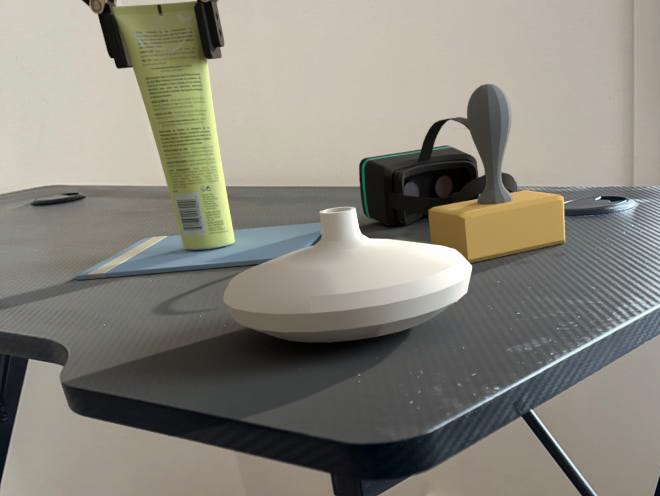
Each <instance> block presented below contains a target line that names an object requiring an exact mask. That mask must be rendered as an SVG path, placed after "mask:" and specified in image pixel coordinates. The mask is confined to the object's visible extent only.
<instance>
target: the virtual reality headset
mask: <svg viewBox="0 0 660 496" xmlns="http://www.w3.org/2000/svg"><path fill="white" fill-rule="evenodd" d="M448 121H454V122H457V123H459V124H461V125H463V126H465V128H466V129H467V130H469V126H468V121H467V117H462V116H456V117H451V118H450V117H449V118H444V119H440V120H437V121H435V122H434V123H433V124H432V125H431V126H430V127H429V129H428V130H427V133H426V134H425V136H424V139H423V142H422V145H421V147H420V149H413V150H408V151H407V150H406V151H402V152H395V153H388V154H382V155H376V156H368V157H364V158H362V159H361V160H360V162H359V165H358V176H359V178H358V179H359V190H360V191H359V192H360V200H361V206H362V212H363V214H364V216H366V218H369V219H370V220H374V221H377V222H379V223H381V224H384V225H386V226H387V227H390V226H394V225H396V224H399V223H401V224H402V225H403V226H405V225H406V226H407V225H410V224H412V223H413V222H416V221H418V220H419V219H421V218H423V217H425V216H426V217H427V216H429V209H431V208H433V207H437V206H443V205H448V204H454V203H459V202H464V201H470V200H475V199H478V198H479V197H480V195H481V194H482V192H483V191H484V189H485V186H486V174H485V173H484V174H483V175H481V176H479V169H478V161H477V159H476V157H475V156H473V155H472V154H469V153H467V152H465V151H462V150H460V149H459V148H455V147H453V146H452V145H448V144H447V145H439V146H435V144H436V143H435V142H436V140H437V137H438V135H439V133H440V132H441V129H442V128H443V126H444V125H446V123H447V122H448ZM483 170H484V171H483V172H485V169H483ZM501 178H502V183H503V185H504V187H505V188H506V189H507V190H508V191H509V193H513V192H518V183H517V181H516V179H515V178H514V177H513V176H512V174H510V173H507V172H503V171H501Z"/></svg>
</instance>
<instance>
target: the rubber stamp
mask: <svg viewBox="0 0 660 496" xmlns="http://www.w3.org/2000/svg"><path fill="white" fill-rule="evenodd" d="M466 118H467V121H468V126H469V129H468V131H469V133H470V136H471V139H472V141H473V143H474V146H475V148H476V151H477V152H478V155H479V157H480V160H481V163H482V167H483V170H485V171H484V175H485V174H486V186H485V189H484V191H483V192H482V194H479V198H478V199H475V200H470V201H464V202H459V203H454V204H448V205H443V206H437V207H433V208H431V209H429V215H428V222H429V232H430V241H431V243H430V244H432V245H440V246H445V247H448V248H452V249H455V250H457V251H458V252H459V253H460V254H462V256H463V257H464V258H465V259H466V260H467V261H468V262H469V263H470V264H474V263H477V262H482V261H486V260H490V259H497V258H501V257H505V256H509V255H515V254H519V253H525V252H529V251H533V250H538V249H542V248H548V247H552V246H556V245H561V244H565V243H566V230H565V229H566V226H565V225H566V224H565V223H566V222H565V200H564V199H565V198H564V196H562V195H561V194H556V193H548V192H541V191H535V190H527V189H526V190H525V189H524V190H520V191H517V192H513V193H509V191H508V190H507V189H506V188H505V187H504V185H503V183H502V178H501V172H502V167H503V161H504V156H505V153H506V149H507V145H508V143H509V142H508V141H509V137H510V133H511V128H512V119H513V117H512V107H511V102H510V100H509V98H508V96H507V93H506V92H505V91H504V90H503V89H502V88H501V87H500V86H498V85H497V84H496V85H495V84H494V83H485V84H482V85H479V86H478V87H477V88H475V90H474V91H473V92H472V93H471V95H470V97H469V99H468V102H467V106H466Z"/></svg>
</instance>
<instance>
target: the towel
mask: <svg viewBox="0 0 660 496" xmlns="http://www.w3.org/2000/svg"><path fill="white" fill-rule="evenodd" d="M233 233H234V239H235V242H234V243H233V244H230V245H227V246H223V247H218V248H212V249H203V250H187V249H185V248H184V247H183V243H182V240H181V236H180V234H177V235H176V234H175V235H160V236H152V237H144V238H142V239H140V240H138V241H136V242H134V243H133V244H131V245H129V246H128V247H126V248H123V249H122V250H120V251H118V252H116V253H115V254H113V255H112V256H111V255H110V256H109V257H107V258H106V259H104V260H102V261H100V262H98V263H97V264H95V265H93V266H91V267H89V268H87V269H86V270H84V271H83V272H81V273H79V274H76V279H77V281H83V280H95V279H105V278H108V279H109V278H119V277H128V276H141V275H151V274H163V273H175V272H187V271H197V270H207V269H208V270H210V269H219V268H221V269H222V268H231V267H242V266H252V265H253V266H254V265H255V266H256V265H260V264H262V263H265V262H268V261H270V260H273V259H275V258H278V257H280V256H283V255H286V254H288V253H291V252H294V251H297V250H300V249H303V248H306V247H310V246H313V244H314V243H315V242H316V241H317V240H318V239H319V238H320V236H322V229H321V222H319V221H318V222H317V221H316V222H307V223H298V224H296V223H295V224H285V225H276V226H275V225H274V226H265V227H264V226H263V227H254V228H252V227H251V228H242V229H233Z"/></svg>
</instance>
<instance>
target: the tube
mask: <svg viewBox="0 0 660 496" xmlns="http://www.w3.org/2000/svg"><path fill="white" fill-rule="evenodd" d="M195 3H197V0H191V1H181V2H169V3H166V2H165V3H153V4H140V5H139V4H138V5H137V4H136V5H120V6H119V5H117V6H116V7H112V9H113V13H114V17H115V20H116V23H117V25H118V28H119V30H120V33H121V35H122V38H123V41H124V43H125V46H126V49H127V52H128V55H129V58H130V61H131V64H132V70H133V73H134V76H135V79H136V82H137V85H138V89H139V91H140V96H141V99H142V102H143V104H144V108H145V112H146V115H147V118H148V121H149V125H150V128H151V131H152V134H153V138H154V142H155V146H156V150H157V152H158V157H159V160H160V163H161V167H162V171H163V173H164V178H165V181H166V185H167V189H168V193H169V198H170V200H171V204H172V209H173V211H174V217H175V220H176V224H177V229H178V232H179V235H180V236H181V240H182V243H183V247H184V248H185V249H187V250H203V249H212V248H218V247H223V246H227V245H230V244H233V243H234V242H235V239H234V233H233V230H234V228H233V222H232V216H231V211H230V205H229V199H228V192H227V187H226V180H225V175H224V169H223V168H224V167H223V163H222V155H221V149H220V143H219V135H218V130H217V129H218V128H217V123H216V116H215V109H214V101H213V96H212V86H211V79H210V78H211V77H210V71H209V62H208V59H207V58H205V56H204V53H203V48H202V43H201V39H200V34H199V29H198V25H197V20H196V15H195V11H194V6H195Z"/></svg>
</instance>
